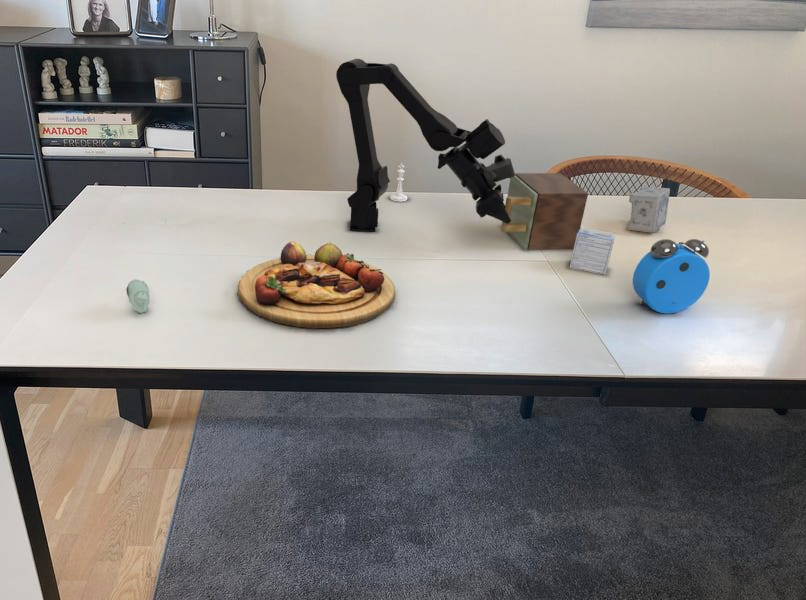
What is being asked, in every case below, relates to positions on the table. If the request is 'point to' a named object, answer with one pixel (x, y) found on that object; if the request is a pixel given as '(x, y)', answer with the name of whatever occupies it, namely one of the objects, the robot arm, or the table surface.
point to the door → (520, 211)
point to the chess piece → (399, 187)
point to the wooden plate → (316, 288)
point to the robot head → (138, 295)
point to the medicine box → (592, 250)
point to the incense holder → (648, 209)
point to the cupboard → (555, 211)
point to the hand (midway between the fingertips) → (508, 220)
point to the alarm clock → (672, 275)
